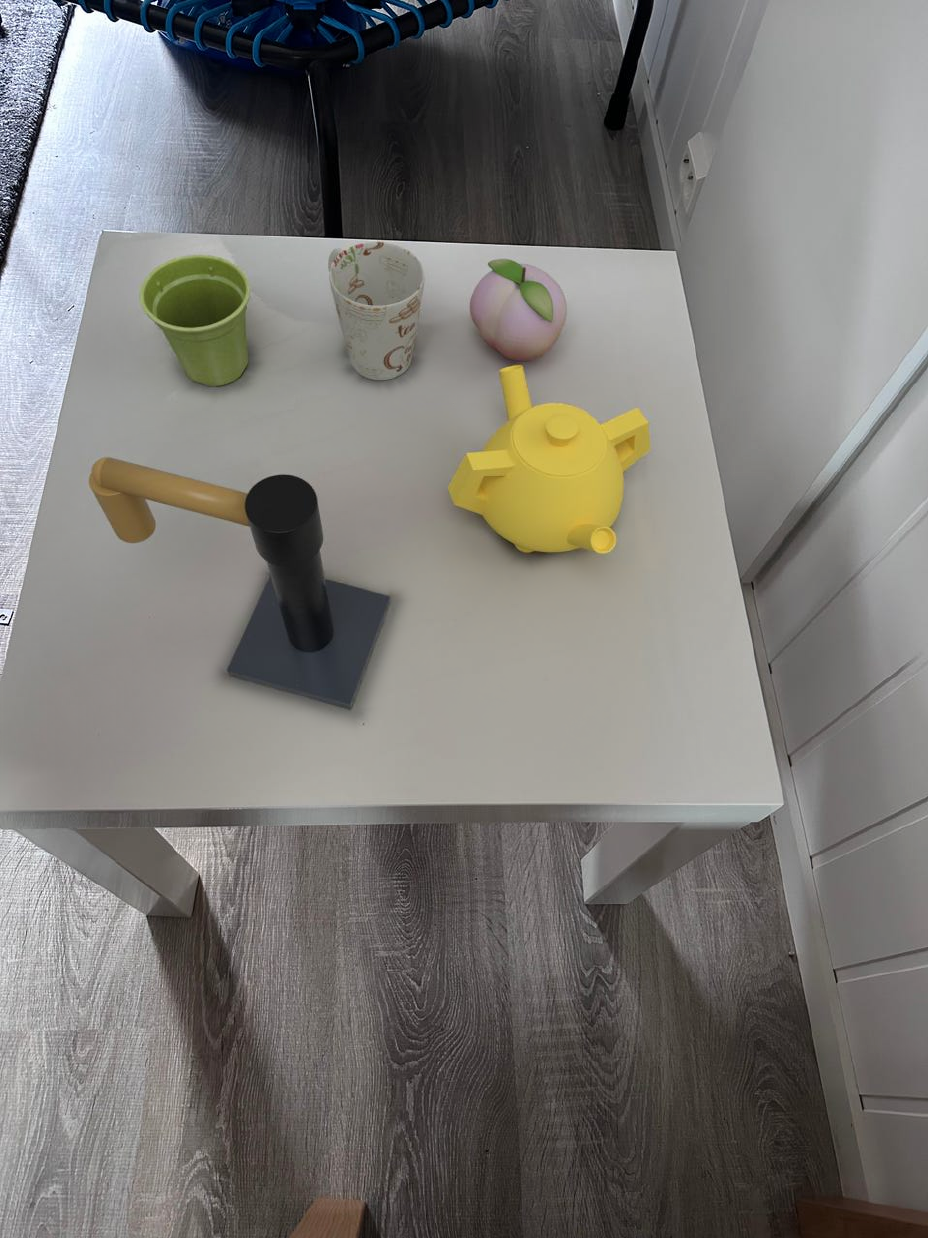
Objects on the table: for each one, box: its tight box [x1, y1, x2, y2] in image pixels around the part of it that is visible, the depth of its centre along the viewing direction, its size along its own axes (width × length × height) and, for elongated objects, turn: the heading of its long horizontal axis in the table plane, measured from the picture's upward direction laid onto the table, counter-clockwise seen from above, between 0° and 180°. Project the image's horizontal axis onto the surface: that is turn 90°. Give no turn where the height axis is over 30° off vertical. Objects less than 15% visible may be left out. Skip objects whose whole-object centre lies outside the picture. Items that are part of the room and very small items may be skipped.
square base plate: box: [226, 549, 391, 711], centre depth 62 cm, size 10×10×14 cm
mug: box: [327, 241, 426, 381], centre depth 79 cm, size 8×13×10 cm, turn 39°
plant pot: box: [139, 254, 251, 387], centre depth 77 cm, size 9×9×9 cm
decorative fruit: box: [469, 258, 568, 361], centre depth 80 cm, size 9×8×10 cm
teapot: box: [447, 364, 651, 555], centre depth 70 cm, size 20×18×11 cm
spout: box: [88, 456, 324, 567], centre depth 55 cm, size 16×4×8 cm, turn 75°
